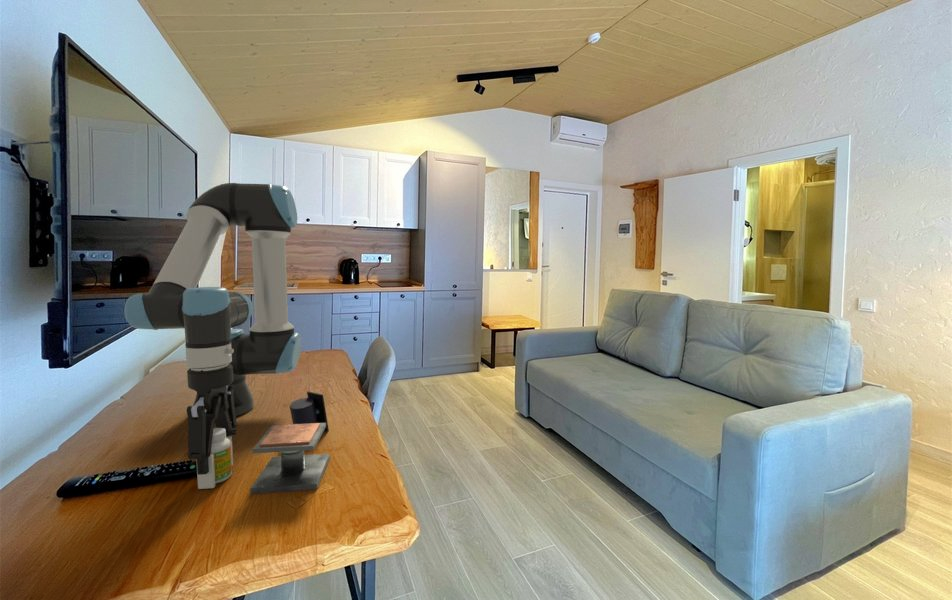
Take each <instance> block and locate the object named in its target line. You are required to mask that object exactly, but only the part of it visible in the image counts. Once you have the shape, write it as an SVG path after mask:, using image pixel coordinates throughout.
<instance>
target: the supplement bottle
mask: <svg viewBox="0 0 952 600" xmlns="http://www.w3.org/2000/svg"><path fill="white" fill-rule="evenodd" d="M225 437H226V429H224V428H216V427H215V428H214V429H213V438H212V446H211V454H214V471H215V484H218V483H222V482H224V481H226V480H228V479H229V478H230V477H231V476H232V474H233V466H232V459H231V442H230V440H229V439H228V438H225Z"/></svg>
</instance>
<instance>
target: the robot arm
mask: <svg viewBox="0 0 952 600" xmlns="http://www.w3.org/2000/svg"><path fill="white" fill-rule="evenodd" d="M297 211H298V210H297V206H296V203H295V199H294V196H293V194H292V192H291V191H290V189H289V187H287V186H284V185H280V184H279V185H278V184H271V183H266V184H265V183H241V182H240V183H239V182H238V183H237V182H226V183H222V184H219V185H215V186H214V187H211V188H209V189H207V191H205V192H203V193H202V194H201V195H199V196H198V197H197V198H195V200H194V201H193V202H192V203H191V204H190V206H189V208H188V210H187V212H186V214H185V217H186V220H187V222H186V223H185V225H184V227H183V229H182V231H181V232H180V234H179V237H178V239H177V240H176V241H175V243H174V246H173V248H172V249H171V251H170V253H169V255H168V257H167V258H166V260H165V262H164V264H163V266H162V267H161V269H160V271H159V273H158V274H157V277H156V279H155V281H154V282H153V283H152V286H150V287H151V288H149V291H148V292H147V293H145V292H142V293H136V294H135V293H134V294H132V295H131V296H129V297H128V299H127V300H126V302H125V304H124V310H123V311H124V318H125V321H126V322H127V323H128V324H129V326H130V327H132V328H134V329H139V330H153V331H158V330H174V329H175V330H176V329H184V337H185V344H184V345H185V360H186V361H185V362H186V363H185V364H186V367H187V368H189V369H188V370H186V376H187V387H188V388H189V389H190V390H192V391H195V392H196V395H195V398H194V401H193V404H192V405H188V406H187V407H186V414H187V419H188V421H187V426H188V428H187V429H188V431H187V433H188V435H187V436H188V437H187V459H188V460H196V474H197V476H196V477H197V478H196V479H197V490H202V489H203V490H206V489H214V488H215V487H216V483H215V471H214V454H211V446H212V438H213V429H214V427H215V428H224V429H226V437H225V438H228V439H229V440H230V442H231V459H232V467H233V466H234V456H233V453H234V452H233V437H232V436H237V433H238V430H237V429H236V428H237V426H238V425H237V417H238V416H241V415H243V414H246V413H248V412H250V411H252V410H253V408H254V407H255V402H254V401H255V400H254V396H253V394H252V391H251V389H250V387H249V386H248V385H249V384H248V383H247V379H246V378H247V377H246V375H270V374H271V375H272V374H273V375H274V374H275V375H279V374H285V373H286V374H287V373H291V372H293V371H294V370H295V369H296V367H297V365H298V363H299V360H300V356H301V355H300V354H301V348H302V337H301V333H299V332H297V331H295V326H294V325H293V324H292V323H291V322H289V310H288V309H289V308H288V281H287V280H288V277H287V276H288V274H287V250H286V249H287V248H286V240H287V239H288V237H290V236H291V234H292V231H291V230H292V228H293V229H294V228H296V227H297V225H298V213H297ZM234 226H236V227H237V226H239V227H244V231H245V232H244V233H246V234H247V235H248V236H249V237H250V239H251V251H252V255H251V256H252V275H253V300H254V304H253V302H252V300H251V299H250V298H249V296H247V295H246V294H245V293H242V292H237V291H228V288H225V287H223V286H203V287H202V286H199V285H198V284H199V282H200V281H201V278H202V277H203V273H204V271H205V269H206V267H207V265H208V262H209V260H210V258H211V256H212V255H213V252H214V249H215V247H216V244H217V243H218V240H219V238H220V236H222V235H224V234H225V233H226V232H227V231H228V230H229V228H230V227H234ZM253 313H254V324H253V325H252V326H250V328H249V333H248V334H246V333H245V331H244V330H243V329H242V328H235V327H239V326H242V325H243V324H244V323H246V322H247V321H249V320H250V318H251V317H252V316H253Z"/></svg>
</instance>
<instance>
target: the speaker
mask: <svg viewBox="0 0 952 600" xmlns="http://www.w3.org/2000/svg"><path fill="white" fill-rule="evenodd" d="M306 395H307V397H303V398H298V399H296V400H294V401H292V402H291V403H290V405H289V410H290V414H291V415H290V416H291V421H292V424H309V423H326V427H325V429H324V431H323V432H327V431H328V432H329V431H330V429H329V424H328V418H327V411H326V406H325V405H326V404H325V399H324V394H322V393H319V392H318V393H317V392H313V391H309V390H308V391H306Z"/></svg>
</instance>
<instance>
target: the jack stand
mask: <svg viewBox="0 0 952 600" xmlns="http://www.w3.org/2000/svg"><path fill="white" fill-rule="evenodd" d="M325 427H326V423H309V424H293V423H290V424H273V425H271V427H269V429H267V431H266V432H265V433H264V435H263V436H262V437H261V438H260V439H259V441H258V442H257V443H256V444H255V445H254V447H252V450H251V451H252V454H262V453H267V454H268V453H279V454H280V456H273V457H271V458H270V460H269V461H268V462H267V464H266V465H265V467H263V470H262V471H261V472H260V473H259V475H258V477H257V478H256V479H255V480H254V482H253V483H252V485H251V486H250V488H249V492H250V495H257V494H268V493H269V494H270V493H271V494H273V493H286V492H299V491H300V492H301V491H312V490H316V491H317V490H318V488H319V486H320V483H321V480H322V478H323V476H324V473H325V472H326V469H327V467H328V464H329V463H330V459H331V454H330V453H322V454H321V453H320V454H319V453H317V454H305V451H314V450H315V448H316V446H317V444H318V443H319V441H320V439H321V437H322V435H323V433H324V432H325V431H324V429H325Z"/></svg>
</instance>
